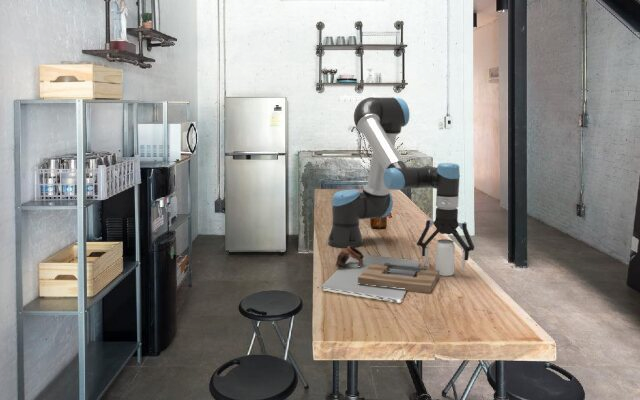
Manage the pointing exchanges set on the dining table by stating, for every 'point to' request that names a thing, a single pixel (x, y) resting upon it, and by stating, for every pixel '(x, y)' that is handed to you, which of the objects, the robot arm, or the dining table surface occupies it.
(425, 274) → the wooden frame board
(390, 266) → the cross rail
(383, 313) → the dining table surface
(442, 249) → the can
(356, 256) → the pottery mug
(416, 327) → the dining table surface
